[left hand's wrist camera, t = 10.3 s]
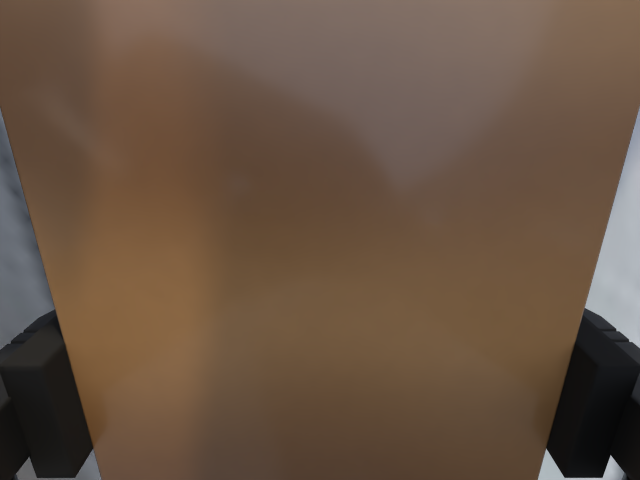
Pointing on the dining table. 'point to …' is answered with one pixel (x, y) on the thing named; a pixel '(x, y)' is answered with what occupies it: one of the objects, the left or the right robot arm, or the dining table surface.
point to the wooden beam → (319, 223)
